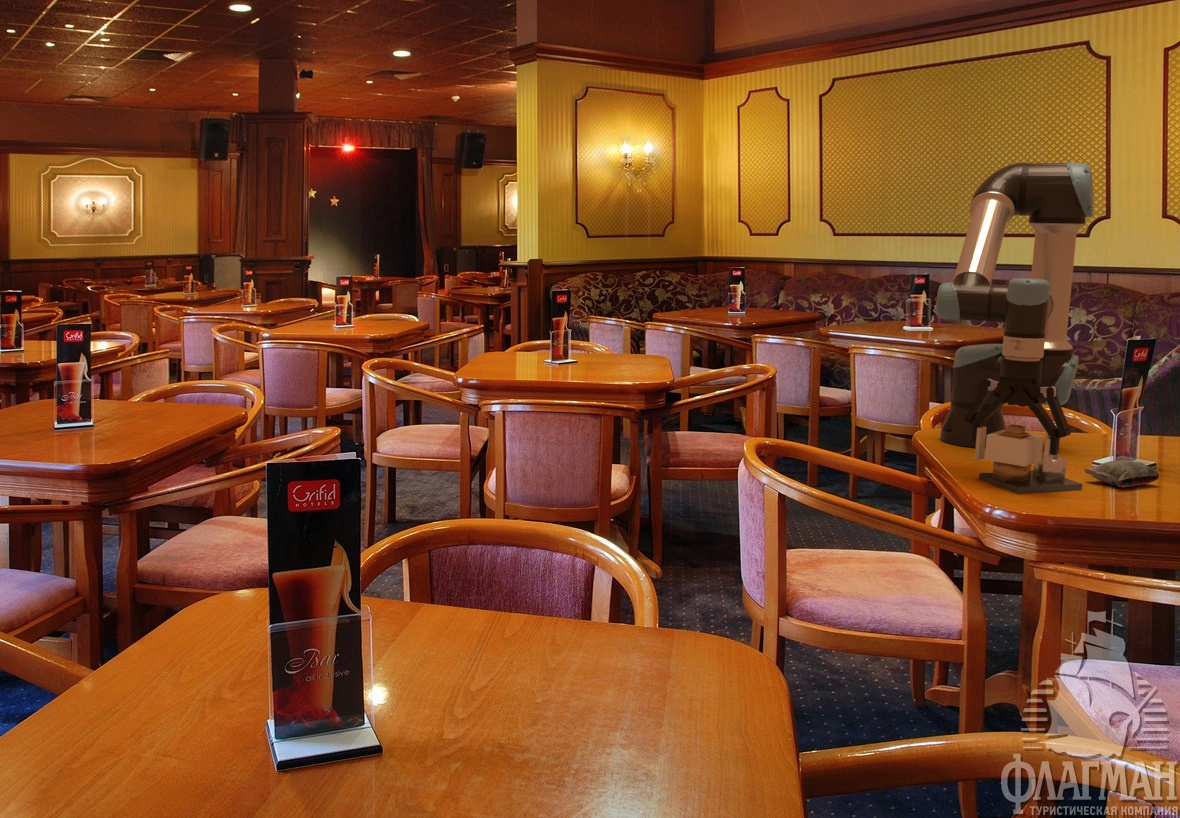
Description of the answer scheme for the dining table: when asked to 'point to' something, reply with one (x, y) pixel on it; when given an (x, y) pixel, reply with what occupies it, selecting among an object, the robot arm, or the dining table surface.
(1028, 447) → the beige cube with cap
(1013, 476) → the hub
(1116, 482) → the packaged food
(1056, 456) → the stand
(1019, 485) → the jig plate
